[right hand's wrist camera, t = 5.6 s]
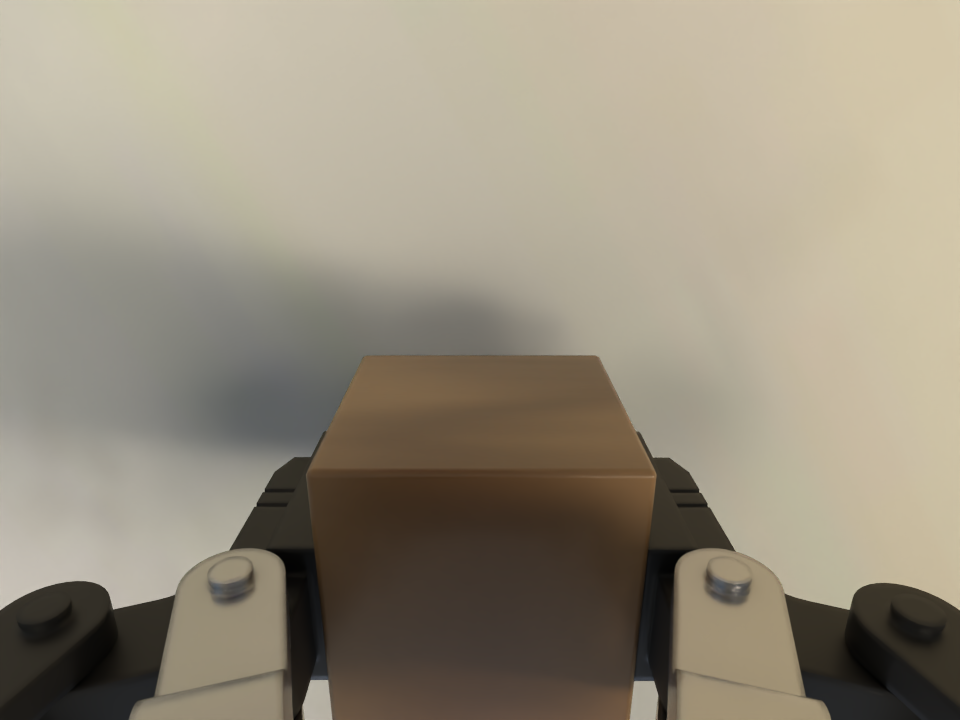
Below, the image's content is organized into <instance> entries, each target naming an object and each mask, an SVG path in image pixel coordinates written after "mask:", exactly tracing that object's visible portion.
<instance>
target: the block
mask: <svg viewBox="0 0 960 720" xmlns="http://www.w3.org/2000/svg"><path fill="white" fill-rule="evenodd" d="M656 476H657V475H656V472H655V469H654V467H653V465H652V463H651V461H650V459H649V457H648V455H647V453H646V451H645V449H644V447H643V445H642V443H641V441H640V439H639V437H638V435H637V433H636V431H635V429H634V427H633V425H632V423H631V421H630V419H629V417H628V415H627V413H626V411H625V409H624V407H623V405H622V403H621V401H620V399H619V397H618V395H617V393H616V391H615V389H614V387H613V385H612V383H611V381H610V379H609V377H608V375H607V373H606V371H605V369H604V367H603V365H602V363H601V361H600V359H599V357H597V356H365V357H363V359H362V361H361V363H360V365H359V367H358V369H357V371H356V373H355V375H354V377H353V379H352V381H351V383H350V385H349V387H348V389H347V391H346V393H345V395H344V397H343V399H342V401H341V403H340V405H339V407H338V410H337V412H336V414H335V416H334V418H333V420H332V422H331V424H330V426H329V428H328V430H327V432H326V434H325V436H324V438H323V440H322V442H321V444H320V446H319V448H318V450H317V452H316V454H315V456H314V458H313V460H312V462H311V464H310V466H309V468H308V471H307V473H306V480H307V489H308V498H309V507H310V516H311V526H312V535H313V544H314V551H315V560H316V570H317V579H318V588H319V597H320V606H321V616H322V625H323V634H324V643H325V653H326V662H327V671H328V682H329V692H330V701H331V710H332V719H333V720H630V712H631V703H632V694H633V685H634V673H635V664H636V655H637V646H638V637H639V628H640V619H641V609H642V600H643V591H644V582H645V573H646V564H647V555H648V548H649V540H650V531H651V521H652V512H653V503H654V494H655V485H656Z"/></svg>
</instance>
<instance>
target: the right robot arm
mask: <svg viewBox="0 0 960 720" xmlns="http://www.w3.org/2000/svg"><path fill="white" fill-rule="evenodd" d="M326 432H327V431H325V432H324V433H323V434H322V436H321V438H320V440H319V442H318V444H317V446H316V448H315V450H314V452H313V454H312V456H311V457H294V458H293V459H292V460H290V461H289V462H288V463H286V464H285V465H284V466H282V467H281V468H279V469H278V470H277V471H275V472H274V474H273V476H272V478H271V479H270V481H269V483H268V485H267V486H266V488H265V492H263V493H262V495H261V497H260V498H259V500H258V502H257V506H256V507H254V509H253V510H252V512H251V514H250V516H249V517H248V519H247V521H246V522H245V524H244V526H243V528H242V529H241V531H240V533H239V535H238V536H237V538H236V540H235V541H234V543H233V545H232V547H231V548H230V550H229V551H225V552H222V553H219V554H216V555H214V556H211V557H209V558H207V559H205V560H203V561H202V562H200V563H198V564H197V565H195V566H194V567H193V568H192V569H190V570H189V571H188V572H187V573H186V574H185V575H184V577H183V578H182V579H181V581H180V583H179V584H178V587H177V590H176V595H173V596H171V597H167V598H163V599H160V600H155V601H151V602H146V603H142V604H137V605H132V606H128V607H123V608H119V609H114V610H113V608H112V604H111V600H110V596H109V594H108V592H107V590H106V589H105V588H103V587H102V586H100V585H98V584H95V583H92V582H86V581H74V582H65V583H59V584H55V585H51V586H47V587H44V588H42V589H39V590H36V591H34V592H31V593H29V594H27V595H25V596H23V597H21V598H19V599H17V600H15V601H14V602H12V603H11V604H9V605H7V606H6V607H4V608H3V609H2V610H0V720H305V719H304V712H303V702H304V700H305V696H306V693H307V690H308V686H309V683H310V680H328V671H327V662H326V653H325V643H324V634H323V625H322V616H321V606H320V597H319V588H318V579H317V570H316V560H315V551H314V544H313V535H312V526H311V516H310V507H309V498H308V489H307V480H306V473H307V471H308V468H309V466H310V464H311V462H312V460H313V458H314V456H315V454H316V452H317V450H318V448H319V446H320V444H321V442H322V440H323V438H324V436H325V434H326ZM636 433H637V435H638V437H639V439H640V441H641V443H642V445H643V447H644V449H645V451H646V453H647V455H648V457H649V459H650V461H651V463H652V465H653V467H654V469H655V472H656V475H657V476H656V485H655V494H654V503H653V512H652V521H651V531H650V540H649V548H648V555H647V564H646V573H645V582H644V591H643V600H642V609H641V619H640V628H639V637H638V646H637V655H636V664H635V673H634V681H654V682H655V685H656V688H657V691H658V695H659V696H658V704H657V712H656V720H960V610H958V609H957V608H955V607H954V606H952V605H951V604H949V603H948V602H946V601H944V600H942V599H940V598H938V597H936V596H934V595H932V594H929V593H927V592H924V591H921V590H919V589H916V588H912V587H908V586H904V585H899V584H891V583H876V584H870V585H867V586H864V587H862V588H860V589H859V590H857V592H856V593H855V594H854V597H853V600H852V604H851V608H850V610H847V609H842V608H838V607H833V606H828V605H824V604H819V603H815V602H810V601H806V600H802V599H798V598H795V597H792V596H789V595H786V594H784V590H783V587H782V584H781V582H780V581H779V579H778V578H777V577H776V575H775V574H774V573H773V572H772V571H771V570H770V569H768V568H767V567H766V566H765V565H763V564H762V563H760V562H758V561H757V560H755V559H753V558H751V557H749V556H746V555H744V554H741V553H738V552H736V551H735V550H734V548H733V546H732V545H731V543H730V541H729V540H728V538H727V536H726V534H725V533H724V531H723V529H722V528H721V526H720V524H719V523H718V521H717V519H716V517H715V516H714V514H713V512H712V511H711V509H710V508H708V506H707V502H706V500H705V499H704V497H703V495H702V494H701V493H699V489H698V487H697V485H696V483H695V482H694V480H693V478H692V477H691V475H690V473H689V472H688V471H686V470H685V469H684V468H682V467H681V466H680V465H678V464H677V463H675V462H674V461H673V460H671V459H670V458H653V457H652V455H651V453H650V451H649V449H648V447H647V445H646V443H645V441H644V439H643V437H642V435H641V434H640V432H636Z"/></svg>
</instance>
